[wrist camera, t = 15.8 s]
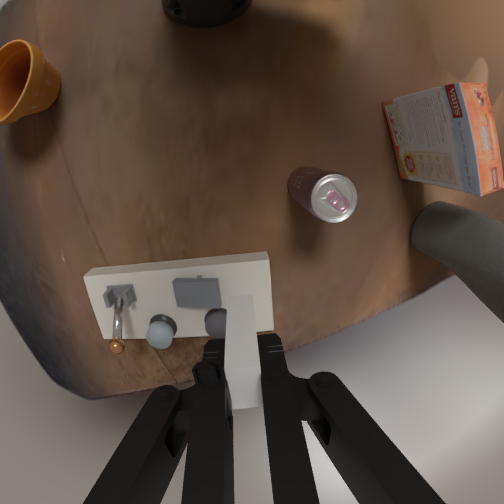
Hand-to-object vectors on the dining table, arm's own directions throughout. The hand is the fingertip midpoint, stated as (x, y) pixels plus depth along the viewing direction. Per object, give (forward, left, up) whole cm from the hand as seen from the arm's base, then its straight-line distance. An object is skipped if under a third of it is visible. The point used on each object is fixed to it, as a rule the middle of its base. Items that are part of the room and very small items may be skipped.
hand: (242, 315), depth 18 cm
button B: (+17, -15, -25) cm, 34 cm away
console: (+13, -12, -30) cm, 35 cm away
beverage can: (-4, +11, -31) cm, 33 cm away
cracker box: (-12, +30, -31) cm, 45 cm away
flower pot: (-29, -34, -31) cm, 54 cm away
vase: (+5, +36, -31) cm, 48 cm away
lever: (+10, -21, -25) cm, 34 cm away
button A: (+17, -5, -26) cm, 31 cm away
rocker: (+10, -7, -25) cm, 28 cm away
